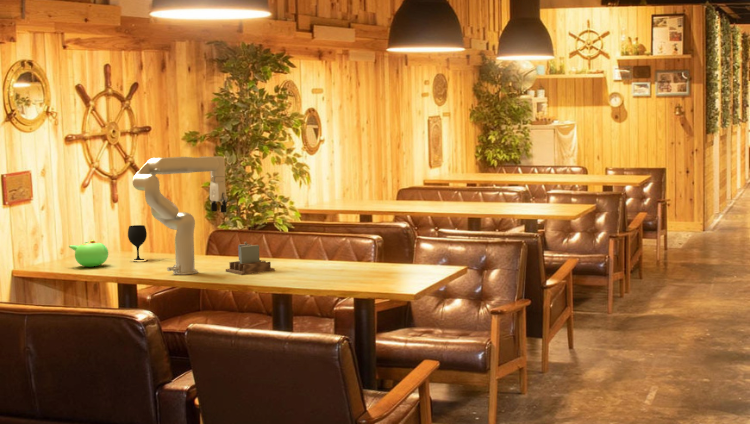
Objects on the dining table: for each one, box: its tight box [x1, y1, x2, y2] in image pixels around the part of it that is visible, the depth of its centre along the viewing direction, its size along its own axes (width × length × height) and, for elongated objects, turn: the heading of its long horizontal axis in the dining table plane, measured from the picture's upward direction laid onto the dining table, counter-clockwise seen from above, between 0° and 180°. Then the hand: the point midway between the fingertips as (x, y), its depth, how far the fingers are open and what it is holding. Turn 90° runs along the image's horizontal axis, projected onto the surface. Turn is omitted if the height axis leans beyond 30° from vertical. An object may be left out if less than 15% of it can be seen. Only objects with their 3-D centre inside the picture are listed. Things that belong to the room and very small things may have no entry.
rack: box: [225, 259, 276, 276], centre depth 498 cm, size 20×16×5 cm
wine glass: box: [127, 224, 148, 260], centre depth 542 cm, size 10×10×20 cm
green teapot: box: [68, 239, 109, 268], centre depth 522 cm, size 18×17×15 cm
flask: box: [237, 241, 253, 250], centre depth 538 cm, size 9×3×11 cm, turn 65°
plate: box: [238, 244, 260, 264], centre depth 497 cm, size 11×2×12 cm, turn 130°
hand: (218, 211), depth 507 cm, fingers open, 9 cm apart
